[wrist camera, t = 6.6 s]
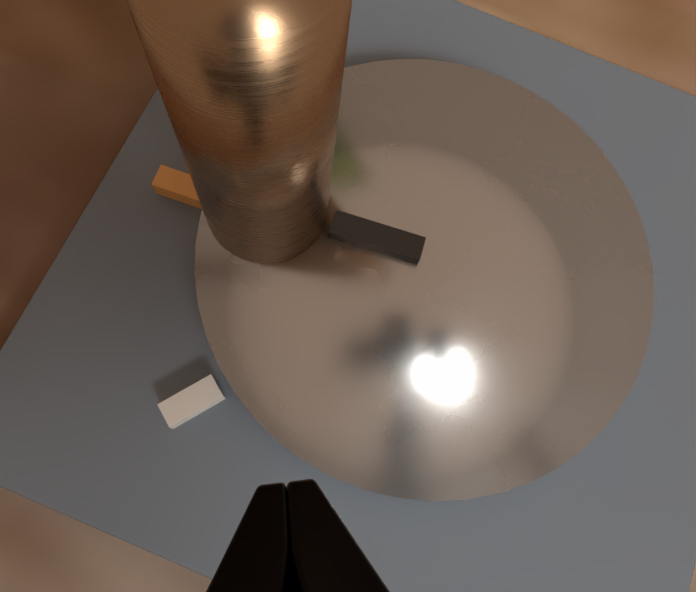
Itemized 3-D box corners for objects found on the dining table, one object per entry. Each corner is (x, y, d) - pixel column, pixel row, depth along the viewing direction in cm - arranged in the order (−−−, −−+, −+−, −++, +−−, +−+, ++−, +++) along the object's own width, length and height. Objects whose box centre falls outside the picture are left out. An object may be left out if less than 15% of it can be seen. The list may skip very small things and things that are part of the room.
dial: (659, 150, 20) (1008, -157, 10) (593, 560, 16) (1045, 701, 6) (282, 34, 20) (269, -383, 10) (131, 417, 16) (-121, 339, 6)
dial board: (629, 753, 16) (664, 783, 15) (-44, 458, 17) (-78, 458, 15) (765, 147, 22) (800, 123, 20) (258, -55, 22) (255, -94, 21)
